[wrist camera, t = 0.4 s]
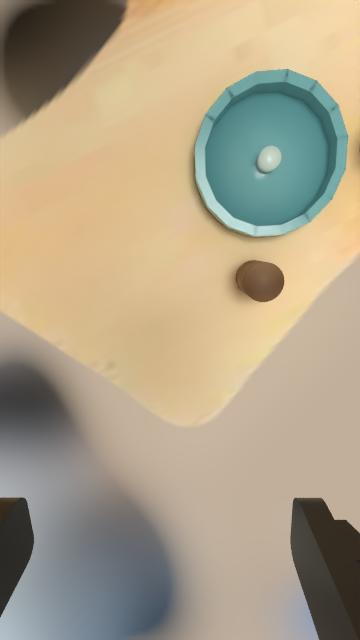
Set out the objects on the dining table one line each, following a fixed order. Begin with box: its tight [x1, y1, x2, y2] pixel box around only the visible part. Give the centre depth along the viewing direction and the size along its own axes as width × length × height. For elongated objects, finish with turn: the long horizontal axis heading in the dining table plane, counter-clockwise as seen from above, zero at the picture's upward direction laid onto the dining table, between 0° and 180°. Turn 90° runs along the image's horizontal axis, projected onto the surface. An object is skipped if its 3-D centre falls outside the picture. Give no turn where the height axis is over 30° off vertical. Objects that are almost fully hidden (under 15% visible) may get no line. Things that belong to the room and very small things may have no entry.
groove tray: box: [194, 69, 348, 237], centre depth 28 cm, size 14×14×2 cm
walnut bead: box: [236, 261, 284, 302], centre depth 29 cm, size 4×4×5 cm
